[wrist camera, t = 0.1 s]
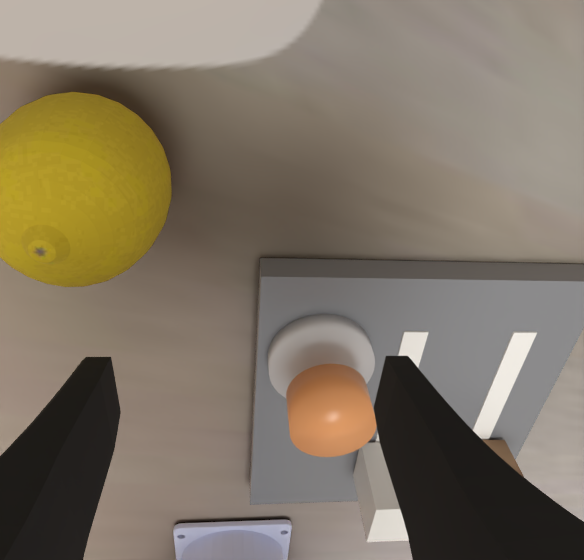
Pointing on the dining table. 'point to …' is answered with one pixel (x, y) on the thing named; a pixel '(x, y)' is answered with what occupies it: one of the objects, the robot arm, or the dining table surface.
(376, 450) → the slider cream
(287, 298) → the panel
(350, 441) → the button orange
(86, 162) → the lemon
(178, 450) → the dining table surface
